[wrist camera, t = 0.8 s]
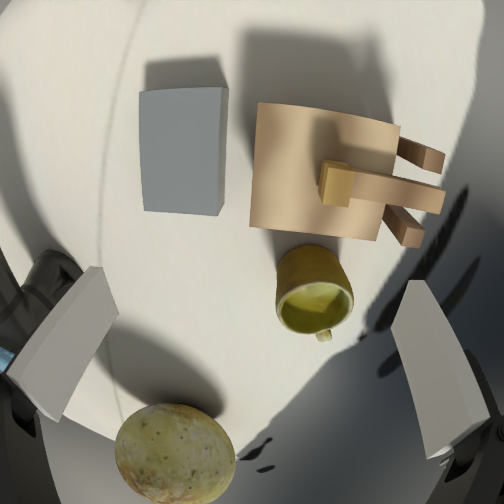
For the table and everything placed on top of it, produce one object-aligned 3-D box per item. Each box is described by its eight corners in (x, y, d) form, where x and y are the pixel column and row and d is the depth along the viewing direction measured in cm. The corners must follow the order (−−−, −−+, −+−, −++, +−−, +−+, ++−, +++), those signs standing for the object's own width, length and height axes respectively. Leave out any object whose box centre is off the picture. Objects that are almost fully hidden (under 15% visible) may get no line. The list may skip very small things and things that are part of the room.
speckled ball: (143, 415, 71) (117, 491, 46) (126, 366, 56) (81, 473, 30) (235, 437, 71) (221, 520, 46) (251, 398, 56) (234, 519, 30)
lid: (252, 214, 27) (249, 226, 25) (260, 102, 22) (257, 102, 19) (367, 227, 27) (375, 241, 24) (388, 123, 21) (400, 126, 19)
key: (317, 191, 22) (322, 204, 20) (322, 159, 21) (328, 167, 18) (431, 211, 21) (446, 224, 19) (439, 183, 20) (455, 194, 17)
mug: (255, 245, 34) (281, 306, 26) (330, 225, 35) (371, 276, 27) (266, 306, 42) (287, 361, 34) (327, 287, 43) (355, 336, 35)
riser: (157, 199, 34) (144, 210, 31) (154, 92, 27) (139, 91, 23) (224, 203, 34) (217, 216, 30) (229, 89, 26) (221, 87, 23)
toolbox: (258, 187, 32) (246, 228, 22) (263, 112, 27) (254, 115, 18) (381, 203, 31) (419, 249, 21) (395, 134, 27) (445, 152, 17)
